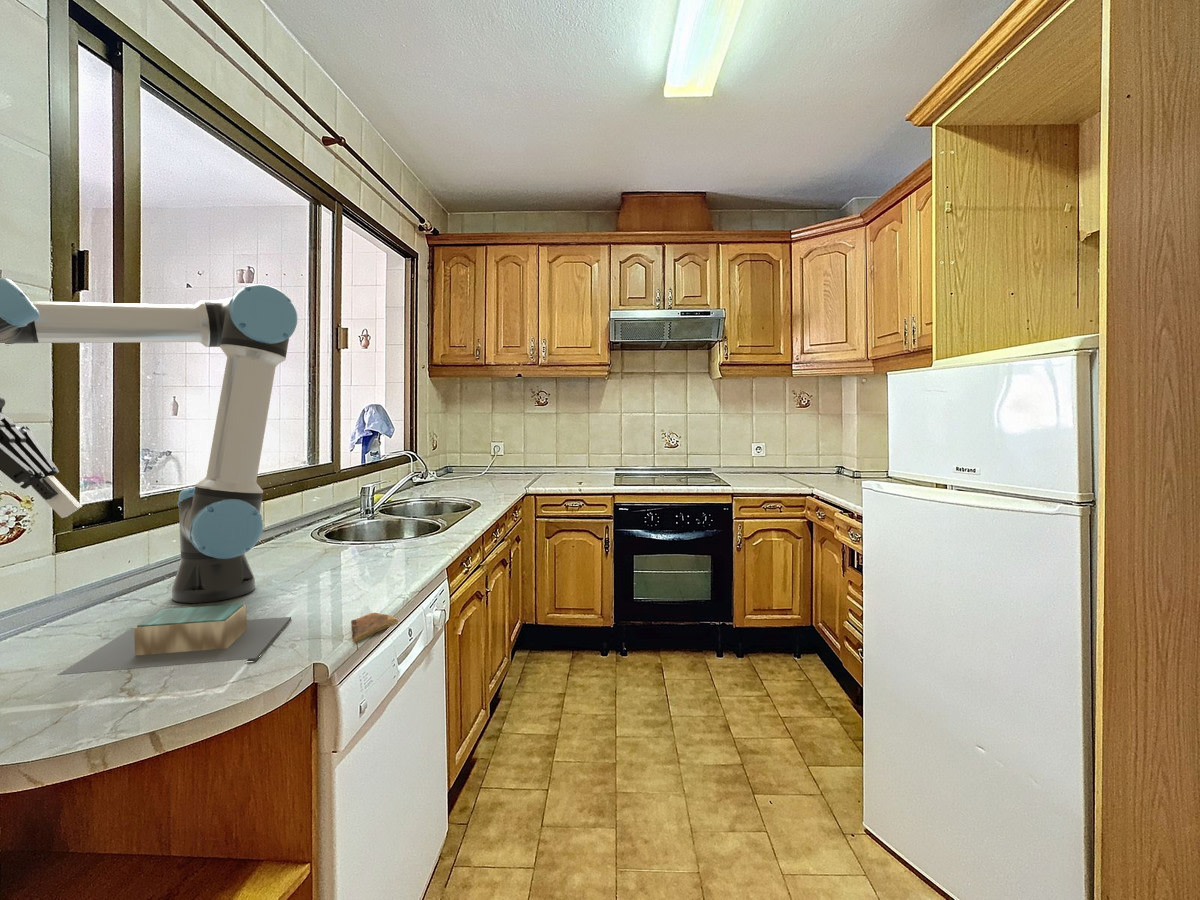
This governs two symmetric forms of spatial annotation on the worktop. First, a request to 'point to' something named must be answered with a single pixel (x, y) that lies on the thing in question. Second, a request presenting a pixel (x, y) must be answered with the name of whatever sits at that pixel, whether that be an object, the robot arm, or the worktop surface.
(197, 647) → the birch block
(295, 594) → the worktop surface
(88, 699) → the worktop surface
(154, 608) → the worktop surface
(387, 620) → the shard
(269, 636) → the rubber mat
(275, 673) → the worktop surface
